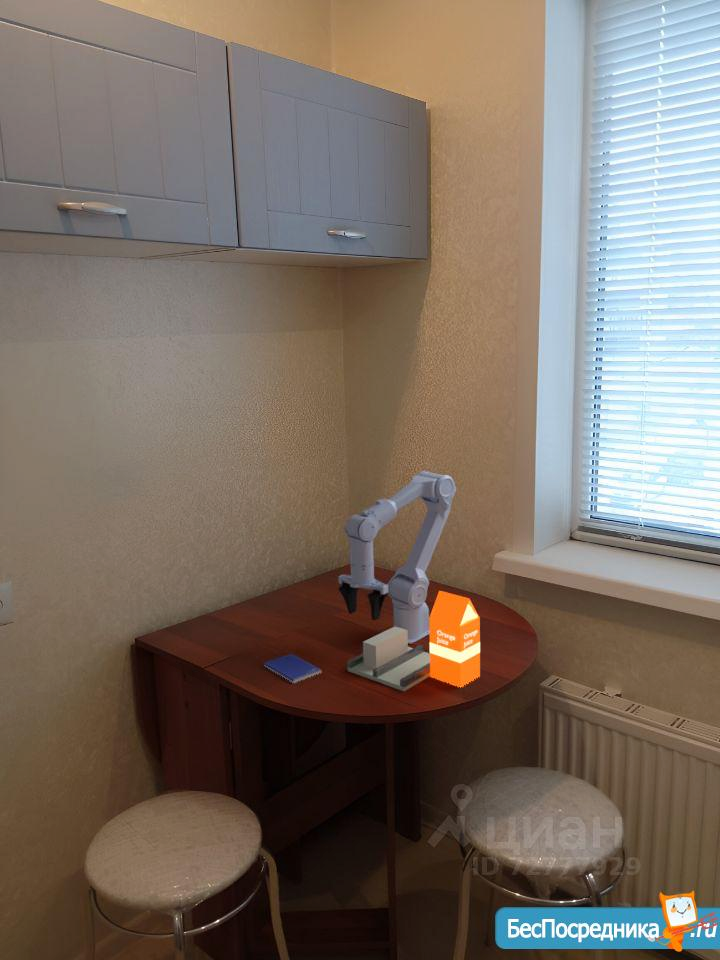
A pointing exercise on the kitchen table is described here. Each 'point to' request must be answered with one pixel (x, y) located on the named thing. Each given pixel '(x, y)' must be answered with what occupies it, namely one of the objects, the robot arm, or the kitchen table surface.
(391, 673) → the rack
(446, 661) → the orange juice
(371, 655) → the clay bar
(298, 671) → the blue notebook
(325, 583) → the kitchen table surface
